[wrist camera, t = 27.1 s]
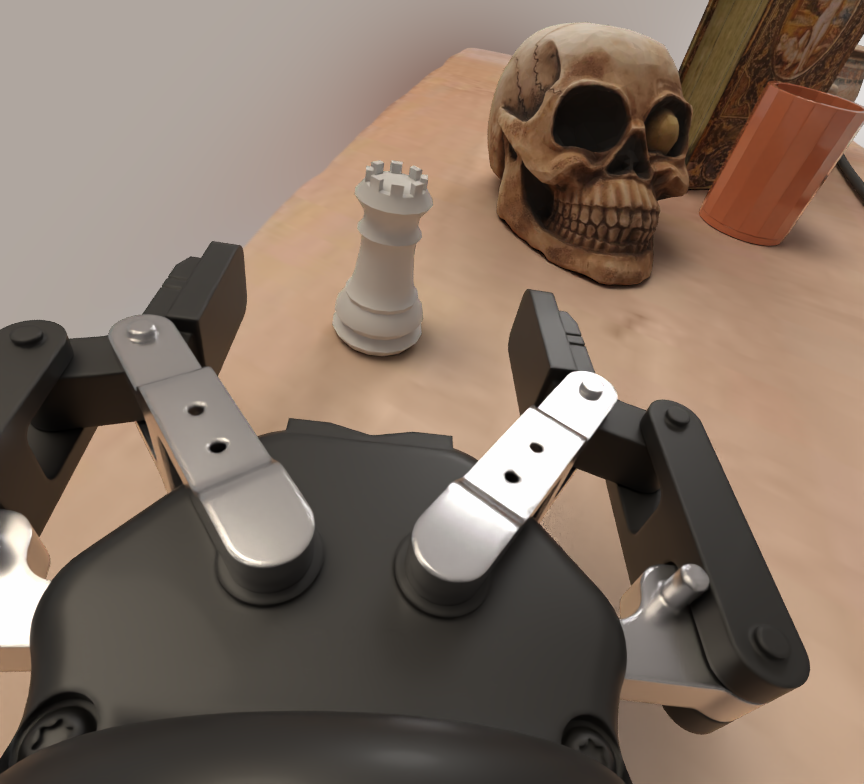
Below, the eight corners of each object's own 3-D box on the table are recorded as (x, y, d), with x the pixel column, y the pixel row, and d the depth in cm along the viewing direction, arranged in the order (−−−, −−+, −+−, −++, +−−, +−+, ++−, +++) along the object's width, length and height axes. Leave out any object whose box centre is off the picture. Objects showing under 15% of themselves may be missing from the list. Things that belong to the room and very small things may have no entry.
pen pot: (716, 200, 51) (784, 79, 44) (792, 234, 47) (878, 109, 40) (685, 215, 46) (756, 82, 39) (767, 253, 43) (860, 117, 36)
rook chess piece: (315, 317, 26) (319, 154, 21) (388, 298, 29) (409, 147, 23) (362, 371, 24) (381, 203, 19) (437, 345, 26) (474, 190, 21)
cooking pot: (667, 96, 84) (707, 4, 76) (778, 122, 85) (830, 34, 77) (713, 146, 66) (772, 31, 58) (854, 178, 67) (933, 70, 58)
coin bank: (625, 298, 33) (721, 44, 25) (415, 215, 40) (435, 0, 32) (695, 241, 43) (779, 49, 35) (518, 183, 51) (552, 15, 43)
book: (736, 166, 61) (904, -133, 44) (775, 186, 58) (973, -128, 41) (636, 167, 54) (790, -188, 37) (674, 190, 51) (862, -188, 34)
